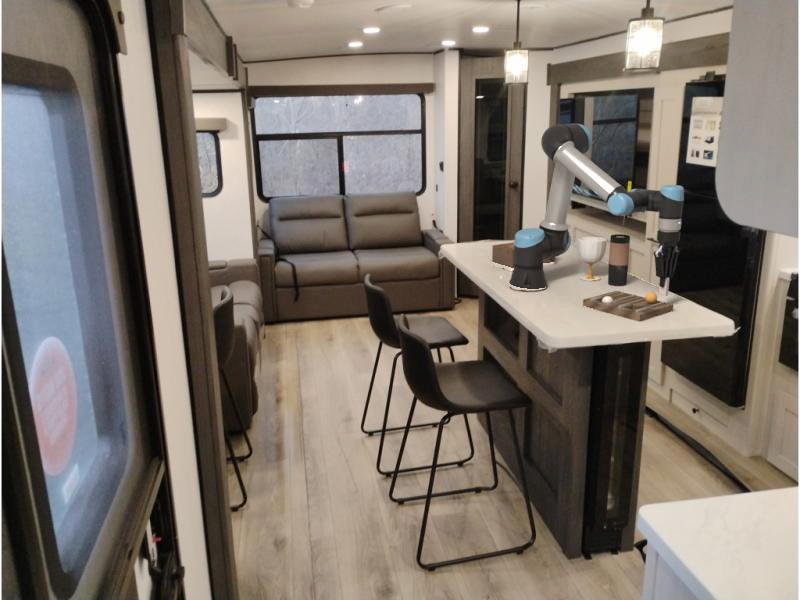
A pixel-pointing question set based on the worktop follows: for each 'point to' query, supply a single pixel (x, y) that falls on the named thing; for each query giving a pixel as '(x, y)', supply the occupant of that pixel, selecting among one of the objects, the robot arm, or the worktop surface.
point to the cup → (591, 251)
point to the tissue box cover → (508, 255)
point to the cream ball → (607, 299)
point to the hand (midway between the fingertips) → (663, 294)
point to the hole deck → (628, 306)
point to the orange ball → (651, 297)
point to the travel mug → (618, 259)
